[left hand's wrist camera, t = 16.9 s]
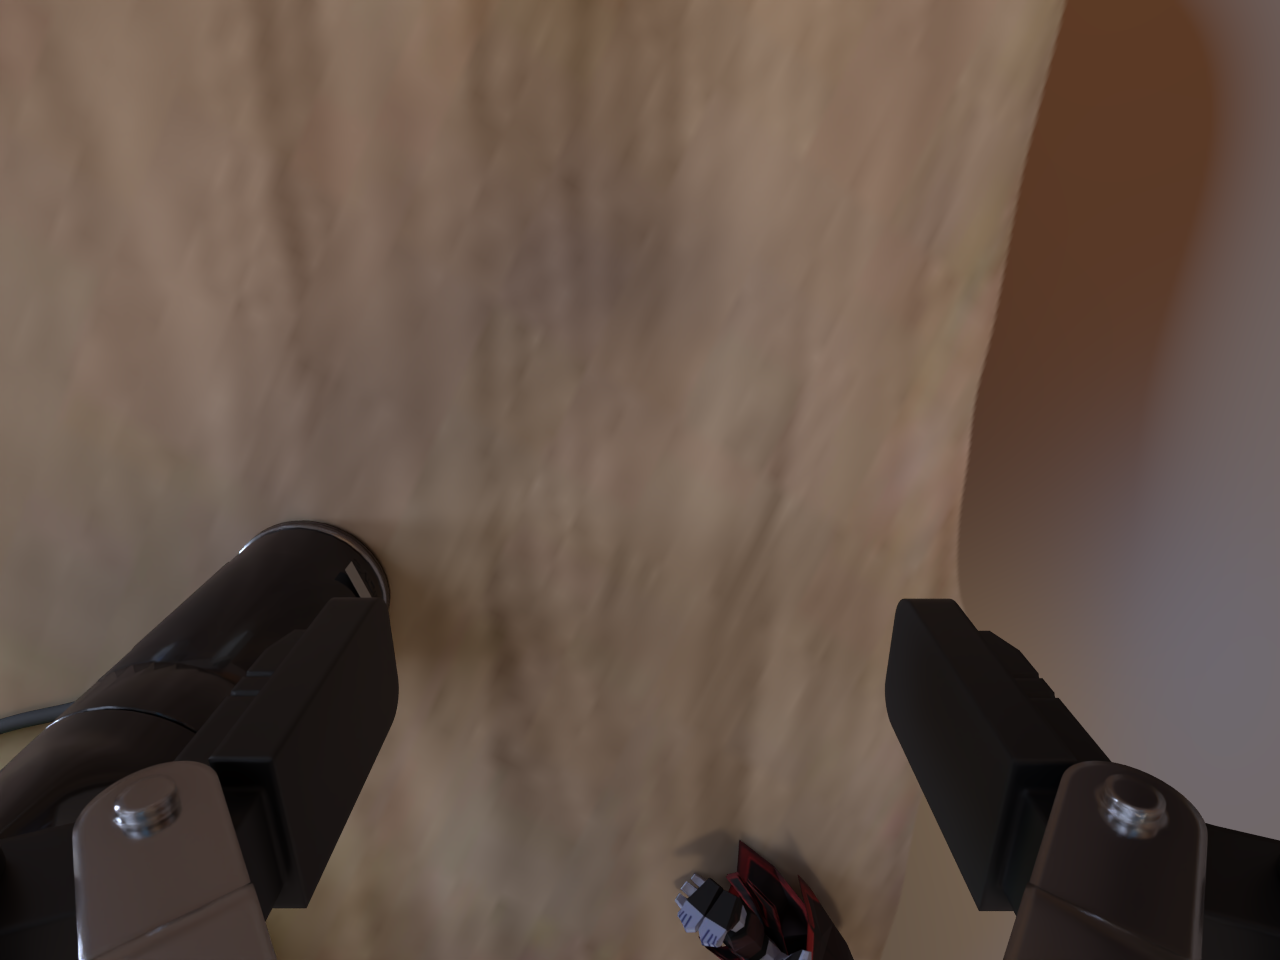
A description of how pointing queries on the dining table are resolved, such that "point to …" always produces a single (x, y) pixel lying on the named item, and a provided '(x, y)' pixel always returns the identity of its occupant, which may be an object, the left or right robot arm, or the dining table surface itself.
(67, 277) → the dining table surface
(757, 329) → the dining table surface
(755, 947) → the toy
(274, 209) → the dining table surface
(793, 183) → the dining table surface
